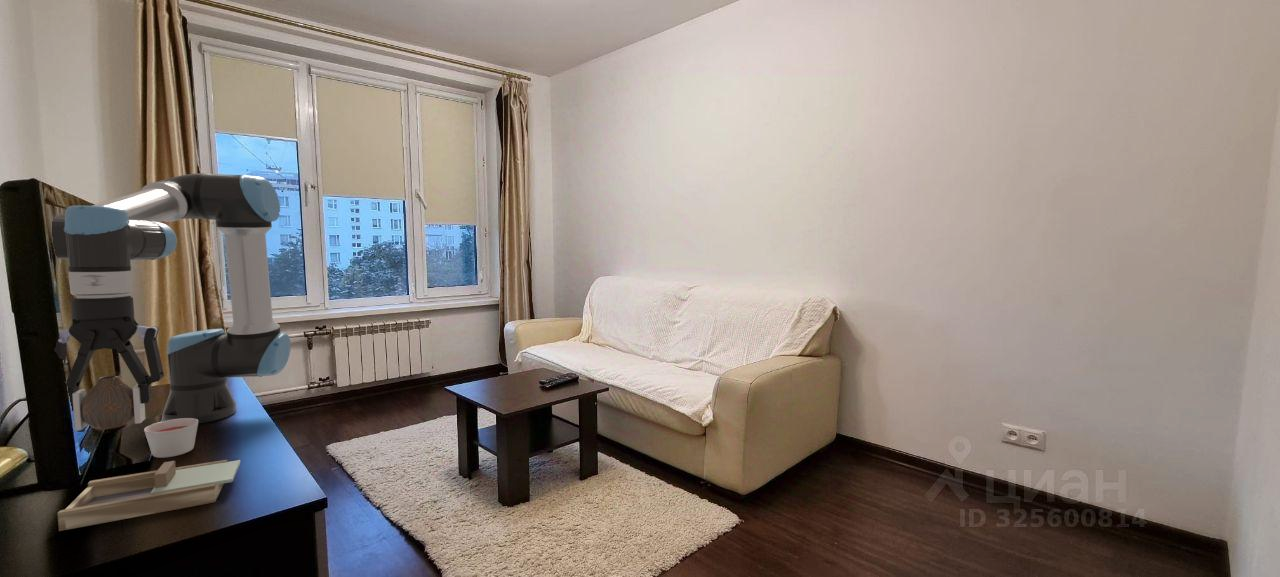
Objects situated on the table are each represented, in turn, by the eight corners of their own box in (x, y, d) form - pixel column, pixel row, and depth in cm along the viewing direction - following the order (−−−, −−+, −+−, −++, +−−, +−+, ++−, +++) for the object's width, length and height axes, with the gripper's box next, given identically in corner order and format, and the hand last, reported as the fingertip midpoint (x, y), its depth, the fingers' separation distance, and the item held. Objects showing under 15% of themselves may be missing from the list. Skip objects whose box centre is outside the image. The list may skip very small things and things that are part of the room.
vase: (103, 434, 87) (99, 383, 86) (72, 430, 88) (68, 380, 88) (149, 420, 94) (146, 373, 93) (119, 417, 95) (116, 371, 94)
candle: (137, 463, 110) (135, 434, 109) (156, 447, 118) (154, 420, 117) (191, 456, 113) (189, 428, 113) (205, 442, 122) (204, 416, 121)
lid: (166, 474, 99) (165, 459, 99) (240, 462, 105) (239, 448, 105) (150, 495, 91) (149, 479, 91) (232, 481, 97) (231, 466, 96)
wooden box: (91, 496, 95) (90, 480, 95) (228, 474, 105) (227, 459, 105) (58, 531, 84) (57, 513, 84) (215, 502, 94) (214, 485, 94)
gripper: (5, 300, 81) (18, 441, 83) (172, 295, 91) (179, 422, 93) (30, 295, 87) (40, 427, 89) (182, 292, 97) (189, 410, 99)
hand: (111, 424), depth 91 cm, fingers closed on vase, 7 cm apart
